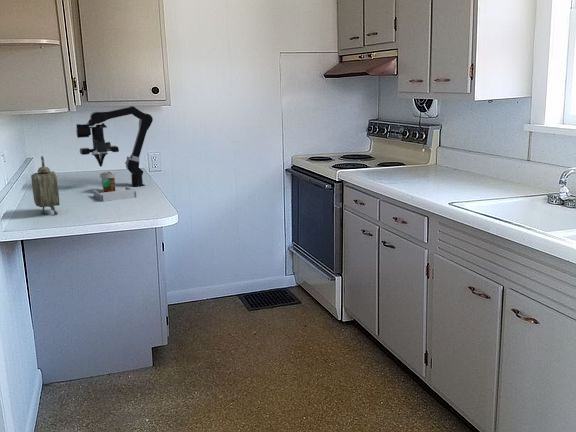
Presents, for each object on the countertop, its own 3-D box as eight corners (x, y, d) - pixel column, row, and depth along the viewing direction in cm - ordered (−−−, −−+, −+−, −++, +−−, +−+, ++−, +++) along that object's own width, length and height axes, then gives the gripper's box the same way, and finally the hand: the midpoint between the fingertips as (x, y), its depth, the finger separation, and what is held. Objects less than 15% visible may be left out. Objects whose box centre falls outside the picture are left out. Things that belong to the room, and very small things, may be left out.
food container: (99, 190, 299) (97, 171, 297) (111, 189, 302) (109, 170, 299) (103, 194, 288) (101, 175, 286) (116, 193, 291) (114, 173, 289)
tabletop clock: (61, 215, 247) (54, 157, 241) (38, 217, 243) (31, 159, 237) (56, 208, 260) (50, 153, 254) (35, 211, 256) (28, 155, 250)
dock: (93, 195, 285) (92, 188, 284) (127, 192, 294) (127, 184, 293) (101, 201, 273) (100, 193, 272) (136, 197, 282) (135, 189, 281)
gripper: (82, 139, 285) (85, 170, 289) (120, 136, 295) (122, 166, 299) (78, 137, 295) (81, 167, 298) (114, 134, 304) (117, 164, 308)
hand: (100, 166), depth 301 cm, fingers closed
